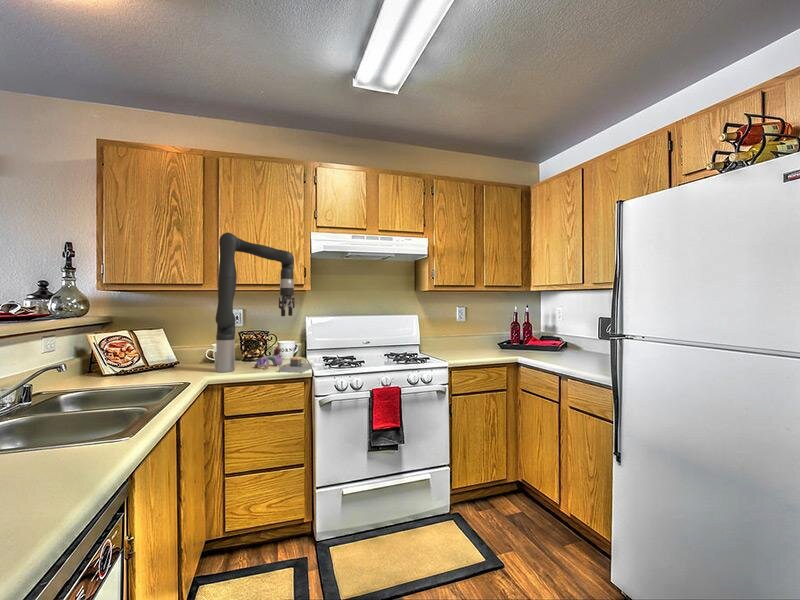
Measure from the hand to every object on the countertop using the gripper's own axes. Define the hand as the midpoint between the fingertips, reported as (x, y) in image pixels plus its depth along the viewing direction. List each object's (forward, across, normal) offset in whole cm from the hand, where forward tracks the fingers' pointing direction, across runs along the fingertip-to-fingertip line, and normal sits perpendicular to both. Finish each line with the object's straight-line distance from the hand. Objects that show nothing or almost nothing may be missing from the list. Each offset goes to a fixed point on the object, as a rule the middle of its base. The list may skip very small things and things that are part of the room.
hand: (286, 316), depth 217 cm
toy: (+30, -5, -12) cm, 33 cm away
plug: (+30, +3, +7) cm, 31 cm away
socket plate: (+30, +3, +7) cm, 31 cm away
